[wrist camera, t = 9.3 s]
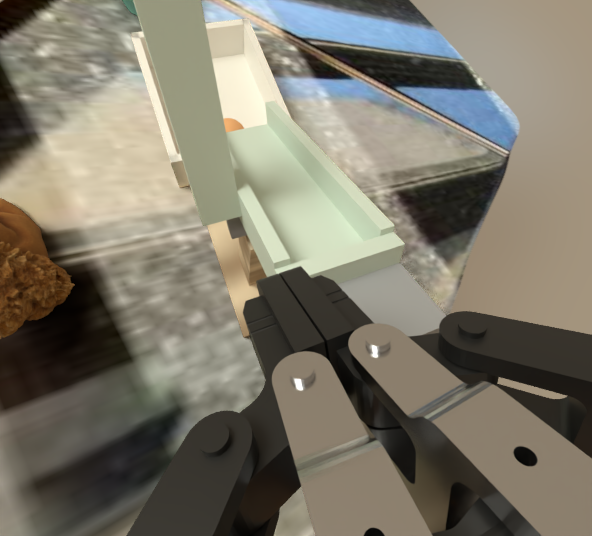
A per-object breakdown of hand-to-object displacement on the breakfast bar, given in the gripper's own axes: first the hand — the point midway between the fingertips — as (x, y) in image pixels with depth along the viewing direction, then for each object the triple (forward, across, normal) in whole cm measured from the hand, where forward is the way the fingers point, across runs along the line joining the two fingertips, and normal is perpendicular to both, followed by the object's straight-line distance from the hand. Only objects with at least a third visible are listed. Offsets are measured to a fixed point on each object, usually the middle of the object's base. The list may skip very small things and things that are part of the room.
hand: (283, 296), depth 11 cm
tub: (+35, +4, +3) cm, 35 cm away
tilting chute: (+12, +3, -4) cm, 13 cm away
